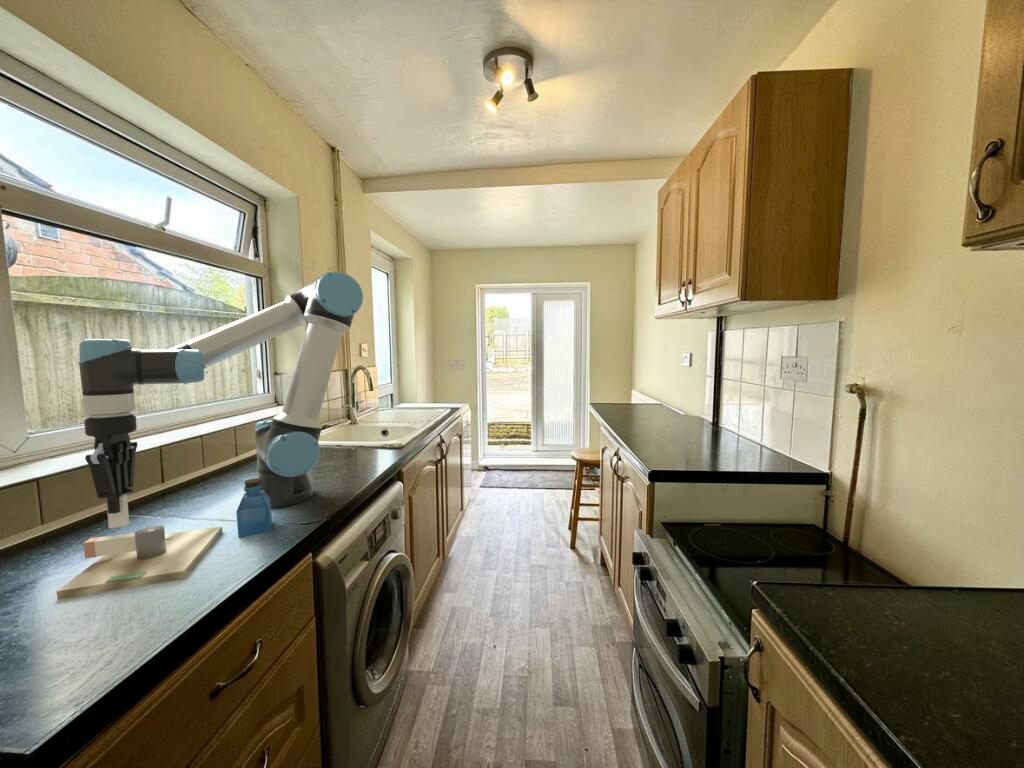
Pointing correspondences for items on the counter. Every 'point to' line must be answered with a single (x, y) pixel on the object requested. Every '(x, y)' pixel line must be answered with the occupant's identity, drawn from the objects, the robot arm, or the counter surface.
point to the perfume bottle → (254, 510)
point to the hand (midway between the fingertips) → (119, 525)
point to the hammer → (129, 543)
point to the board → (143, 565)
